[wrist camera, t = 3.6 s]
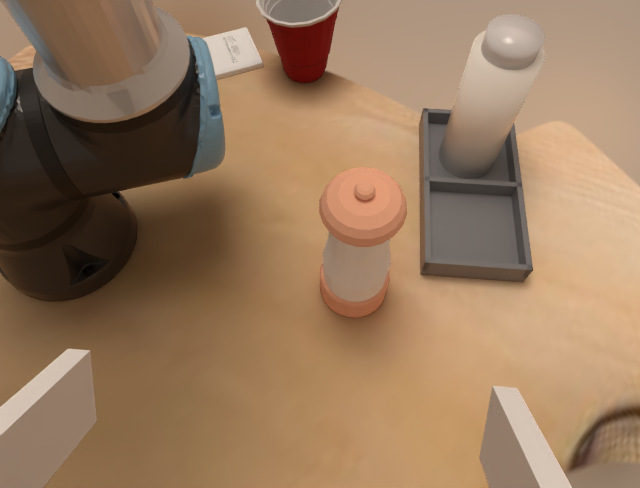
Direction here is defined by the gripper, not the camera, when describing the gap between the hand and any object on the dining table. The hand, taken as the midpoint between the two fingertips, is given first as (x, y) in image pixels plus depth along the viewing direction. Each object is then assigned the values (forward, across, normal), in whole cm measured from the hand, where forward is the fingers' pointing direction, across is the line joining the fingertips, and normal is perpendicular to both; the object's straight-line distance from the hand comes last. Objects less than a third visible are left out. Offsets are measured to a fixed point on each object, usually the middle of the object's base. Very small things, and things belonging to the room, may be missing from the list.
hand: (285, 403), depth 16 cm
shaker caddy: (+46, +16, -1) cm, 48 cm away
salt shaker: (+49, +16, +3) cm, 51 cm away
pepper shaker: (+37, +3, -10) cm, 38 cm away
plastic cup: (+60, -6, +13) cm, 62 cm away
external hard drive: (+61, -20, +13) cm, 65 cm away
